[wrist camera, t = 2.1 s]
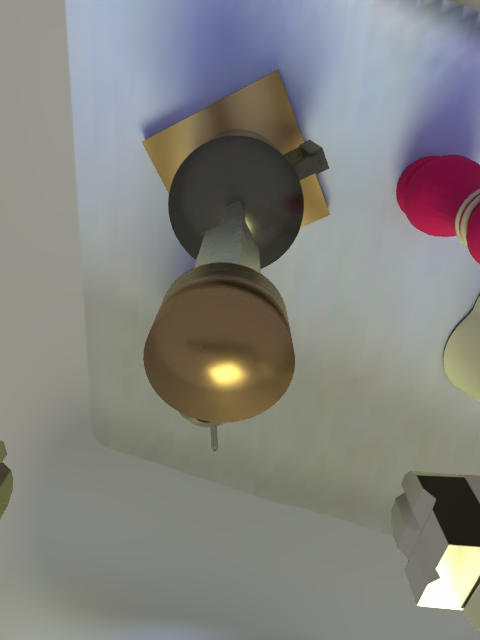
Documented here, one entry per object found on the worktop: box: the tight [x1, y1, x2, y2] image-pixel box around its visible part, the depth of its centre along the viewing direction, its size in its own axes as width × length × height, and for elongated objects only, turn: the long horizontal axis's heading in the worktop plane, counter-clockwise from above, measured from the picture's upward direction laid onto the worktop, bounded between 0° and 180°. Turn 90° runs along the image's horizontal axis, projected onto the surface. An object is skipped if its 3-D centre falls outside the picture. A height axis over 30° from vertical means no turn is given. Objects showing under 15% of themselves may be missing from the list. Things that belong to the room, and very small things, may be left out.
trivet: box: [142, 70, 330, 228], centre depth 41 cm, size 14×14×2 cm
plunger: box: [144, 214, 295, 423], centre depth 17 cm, size 4×4×12 cm
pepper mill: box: [397, 155, 480, 264], centre depth 33 cm, size 7×7×20 cm
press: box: [168, 129, 329, 269], centre depth 31 cm, size 12×10×22 cm
